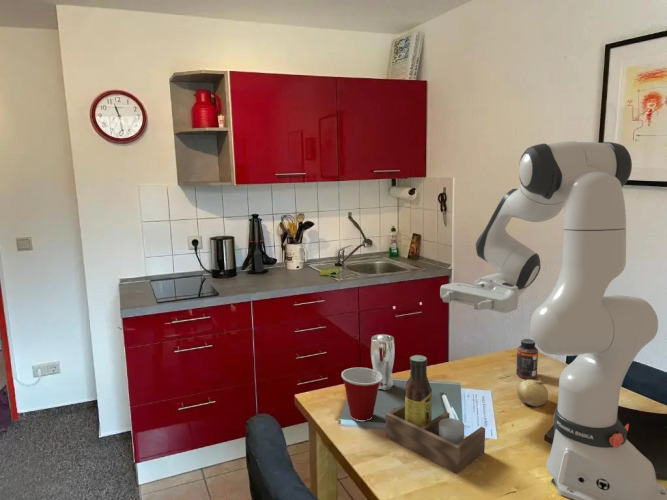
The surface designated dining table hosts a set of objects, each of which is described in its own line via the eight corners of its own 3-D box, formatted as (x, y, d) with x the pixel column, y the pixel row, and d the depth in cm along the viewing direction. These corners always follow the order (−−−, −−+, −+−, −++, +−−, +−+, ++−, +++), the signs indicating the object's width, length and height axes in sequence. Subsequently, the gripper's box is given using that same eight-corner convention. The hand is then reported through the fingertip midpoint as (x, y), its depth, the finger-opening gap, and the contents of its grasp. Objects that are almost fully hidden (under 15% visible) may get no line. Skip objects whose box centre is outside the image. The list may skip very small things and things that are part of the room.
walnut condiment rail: (484, 456, 113) (485, 428, 112) (456, 478, 106) (457, 448, 105) (414, 423, 128) (414, 398, 127) (385, 440, 121) (385, 414, 119)
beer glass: (398, 383, 150) (398, 336, 148) (388, 393, 145) (388, 344, 142) (377, 378, 154) (377, 332, 151) (367, 387, 148) (366, 339, 146)
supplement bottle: (539, 379, 151) (542, 344, 149) (520, 380, 151) (521, 344, 149) (532, 371, 157) (534, 337, 155) (513, 371, 157) (515, 337, 155)
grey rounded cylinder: (468, 452, 113) (469, 424, 112) (454, 463, 110) (455, 434, 108) (447, 443, 117) (448, 415, 116) (433, 452, 114) (433, 424, 112)
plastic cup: (391, 419, 130) (391, 376, 128) (356, 431, 125) (356, 387, 123) (367, 402, 139) (367, 362, 137) (334, 413, 134) (333, 371, 132)
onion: (530, 412, 132) (532, 387, 131) (510, 399, 140) (511, 375, 138) (554, 406, 135) (555, 382, 134) (532, 393, 142) (533, 370, 141)
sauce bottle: (431, 445, 116) (432, 365, 113) (404, 442, 118) (404, 363, 114) (431, 430, 123) (432, 354, 119) (405, 427, 124) (406, 352, 120)
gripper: (456, 275, 145) (427, 284, 135) (523, 287, 130) (496, 298, 121) (456, 296, 146) (427, 306, 137) (522, 310, 131) (495, 323, 122)
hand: (460, 302), depth 129 cm, fingers open, 8 cm apart
